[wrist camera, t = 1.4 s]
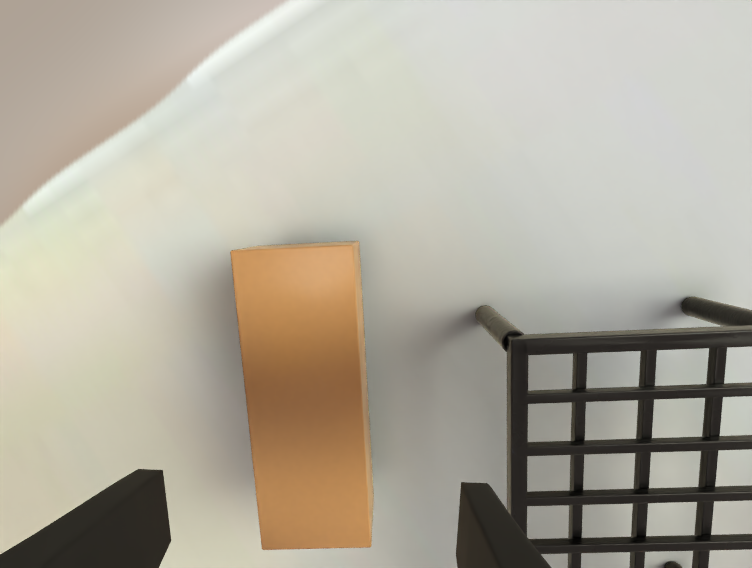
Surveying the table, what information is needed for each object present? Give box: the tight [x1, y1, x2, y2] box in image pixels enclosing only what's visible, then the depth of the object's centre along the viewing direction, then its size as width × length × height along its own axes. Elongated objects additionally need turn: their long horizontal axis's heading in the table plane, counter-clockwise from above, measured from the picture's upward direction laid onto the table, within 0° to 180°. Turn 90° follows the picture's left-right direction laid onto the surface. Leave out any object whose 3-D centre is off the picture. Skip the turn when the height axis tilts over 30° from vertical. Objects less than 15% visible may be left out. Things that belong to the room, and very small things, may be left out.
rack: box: [475, 297, 752, 568], centre depth 17 cm, size 10×15×5 cm
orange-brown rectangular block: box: [230, 241, 374, 550], centre depth 17 cm, size 12×4×4 cm, turn 3°
